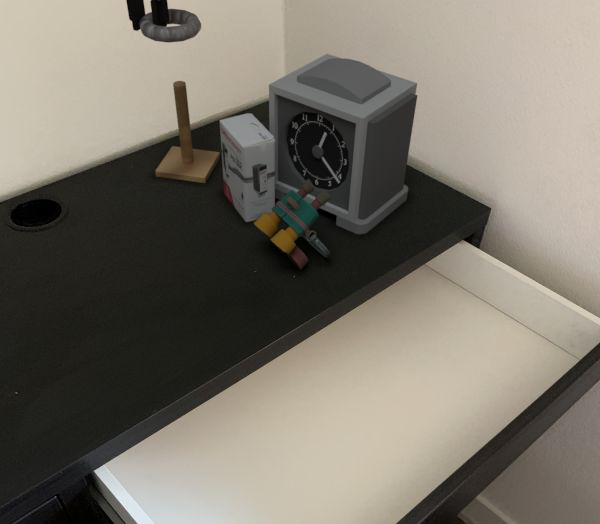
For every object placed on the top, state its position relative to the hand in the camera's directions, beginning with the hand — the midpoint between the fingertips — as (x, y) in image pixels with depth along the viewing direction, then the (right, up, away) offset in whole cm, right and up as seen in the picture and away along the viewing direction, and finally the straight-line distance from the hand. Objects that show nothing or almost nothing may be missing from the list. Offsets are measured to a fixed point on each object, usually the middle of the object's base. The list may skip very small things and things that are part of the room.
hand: (150, 26), depth 89 cm
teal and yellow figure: (+19, -31, +1) cm, 36 cm away
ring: (+3, 0, -1) cm, 3 cm away
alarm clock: (+26, -19, +12) cm, 34 cm away
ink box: (+13, -21, +9) cm, 27 cm away
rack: (+3, -13, +16) cm, 21 cm away
